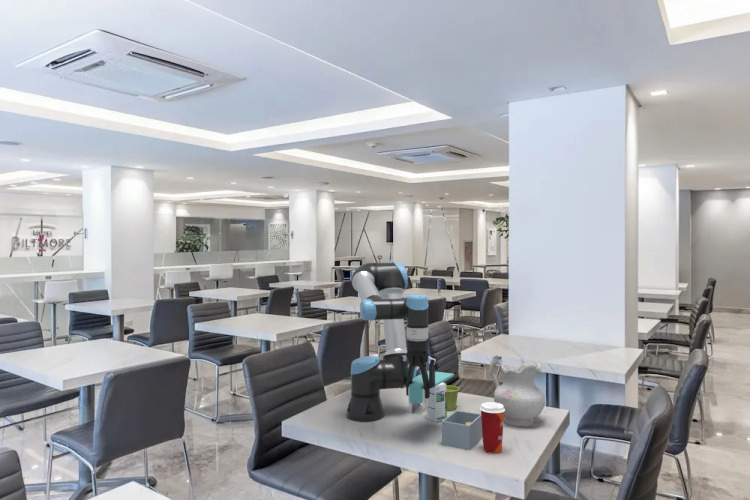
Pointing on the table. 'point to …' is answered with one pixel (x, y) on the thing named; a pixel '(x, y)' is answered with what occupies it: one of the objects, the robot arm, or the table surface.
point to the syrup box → (437, 403)
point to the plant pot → (451, 397)
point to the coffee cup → (492, 426)
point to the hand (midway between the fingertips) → (418, 406)
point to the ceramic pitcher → (518, 392)
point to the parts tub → (462, 429)
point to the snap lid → (418, 385)
